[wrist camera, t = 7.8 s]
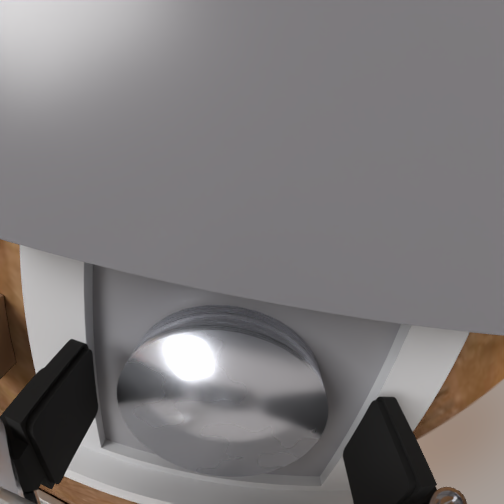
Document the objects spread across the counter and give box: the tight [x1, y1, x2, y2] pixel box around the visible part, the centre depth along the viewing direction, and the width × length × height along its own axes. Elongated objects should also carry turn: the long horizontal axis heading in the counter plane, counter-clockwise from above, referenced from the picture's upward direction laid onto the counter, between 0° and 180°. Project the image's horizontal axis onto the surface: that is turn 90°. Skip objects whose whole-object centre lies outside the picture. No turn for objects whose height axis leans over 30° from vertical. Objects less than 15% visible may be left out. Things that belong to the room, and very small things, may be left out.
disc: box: [117, 305, 328, 477], centre depth 9 cm, size 7×7×2 cm
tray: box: [20, 245, 469, 504], centre depth 9 cm, size 16×16×3 cm
